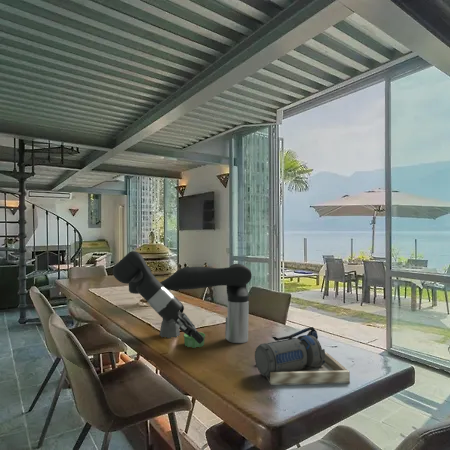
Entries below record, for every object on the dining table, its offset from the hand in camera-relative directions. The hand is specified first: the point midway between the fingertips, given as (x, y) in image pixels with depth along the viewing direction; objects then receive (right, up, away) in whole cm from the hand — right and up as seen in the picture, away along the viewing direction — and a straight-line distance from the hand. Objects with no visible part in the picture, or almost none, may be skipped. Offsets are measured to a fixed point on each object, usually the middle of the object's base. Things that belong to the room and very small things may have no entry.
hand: (201, 341), depth 113 cm
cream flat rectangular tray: (+33, -12, +3) cm, 35 cm away
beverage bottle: (+19, -5, -2) cm, 20 cm away
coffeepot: (-17, -12, +43) cm, 48 cm away
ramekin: (-5, -12, +31) cm, 34 cm away
